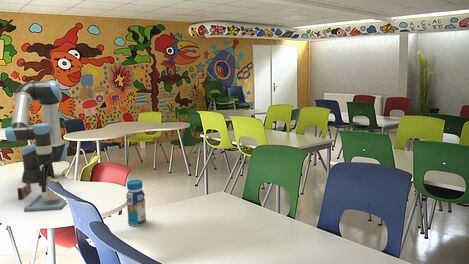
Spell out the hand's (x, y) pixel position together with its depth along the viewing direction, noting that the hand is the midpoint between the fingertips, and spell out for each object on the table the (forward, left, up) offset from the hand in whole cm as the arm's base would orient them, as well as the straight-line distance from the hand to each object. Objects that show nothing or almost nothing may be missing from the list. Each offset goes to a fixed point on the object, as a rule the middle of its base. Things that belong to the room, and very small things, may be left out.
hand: (48, 194), depth 210 cm
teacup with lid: (-1, 0, -2) cm, 2 cm away
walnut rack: (-17, -11, -5) cm, 21 cm away
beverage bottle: (+34, +50, -5) cm, 61 cm away
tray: (0, 0, -5) cm, 5 cm away
